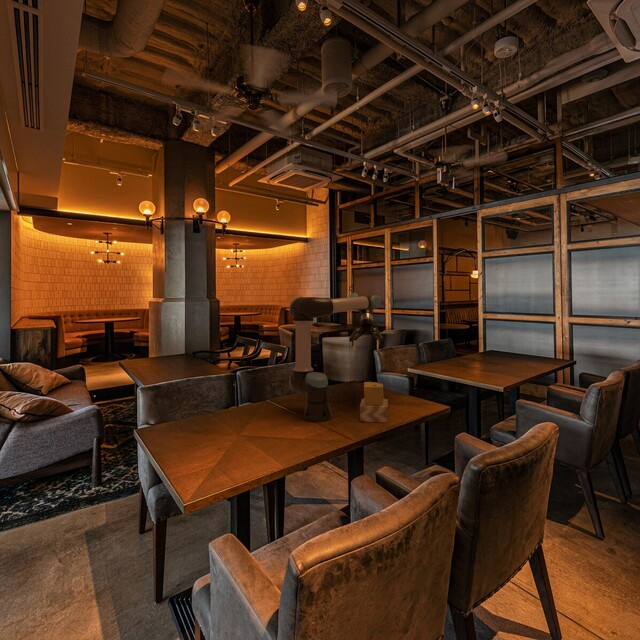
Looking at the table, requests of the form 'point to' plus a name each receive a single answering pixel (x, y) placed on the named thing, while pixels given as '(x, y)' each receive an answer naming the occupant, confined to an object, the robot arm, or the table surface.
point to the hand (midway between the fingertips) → (365, 350)
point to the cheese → (373, 393)
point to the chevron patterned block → (374, 412)
